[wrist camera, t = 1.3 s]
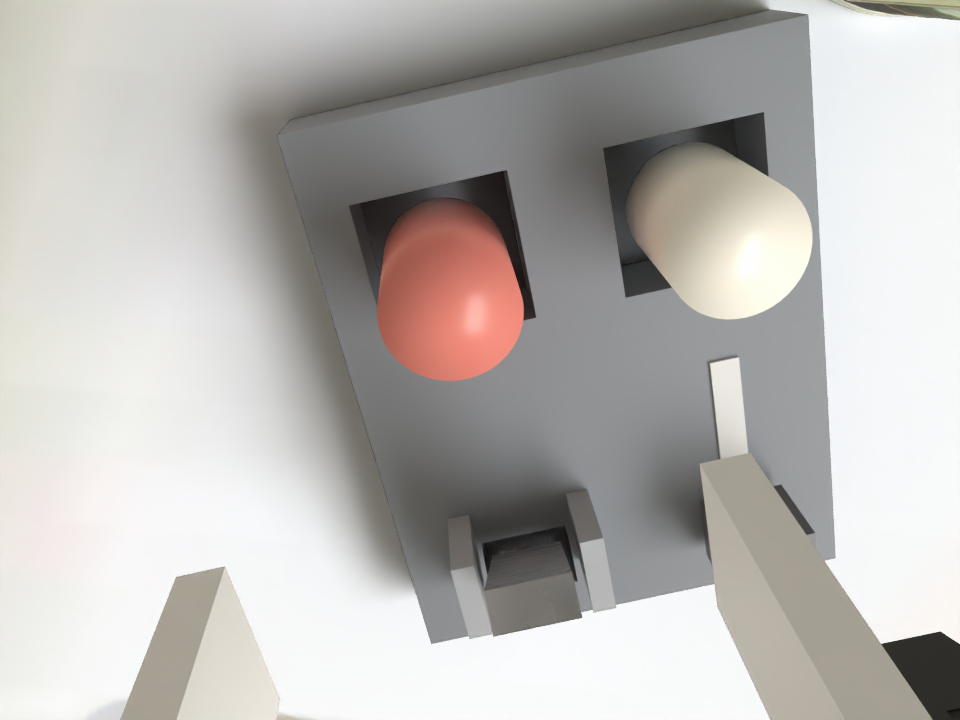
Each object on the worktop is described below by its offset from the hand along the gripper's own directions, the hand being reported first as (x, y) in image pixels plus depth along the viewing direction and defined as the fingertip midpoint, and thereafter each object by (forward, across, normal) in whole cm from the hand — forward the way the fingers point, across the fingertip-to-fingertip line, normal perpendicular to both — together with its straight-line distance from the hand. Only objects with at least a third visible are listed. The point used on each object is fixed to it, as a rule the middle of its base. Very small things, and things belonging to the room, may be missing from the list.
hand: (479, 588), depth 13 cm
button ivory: (+17, +8, 0) cm, 18 cm away
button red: (+17, 0, 0) cm, 17 cm away
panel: (+19, +4, -5) cm, 20 cm away
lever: (+15, +1, -12) cm, 19 cm away
